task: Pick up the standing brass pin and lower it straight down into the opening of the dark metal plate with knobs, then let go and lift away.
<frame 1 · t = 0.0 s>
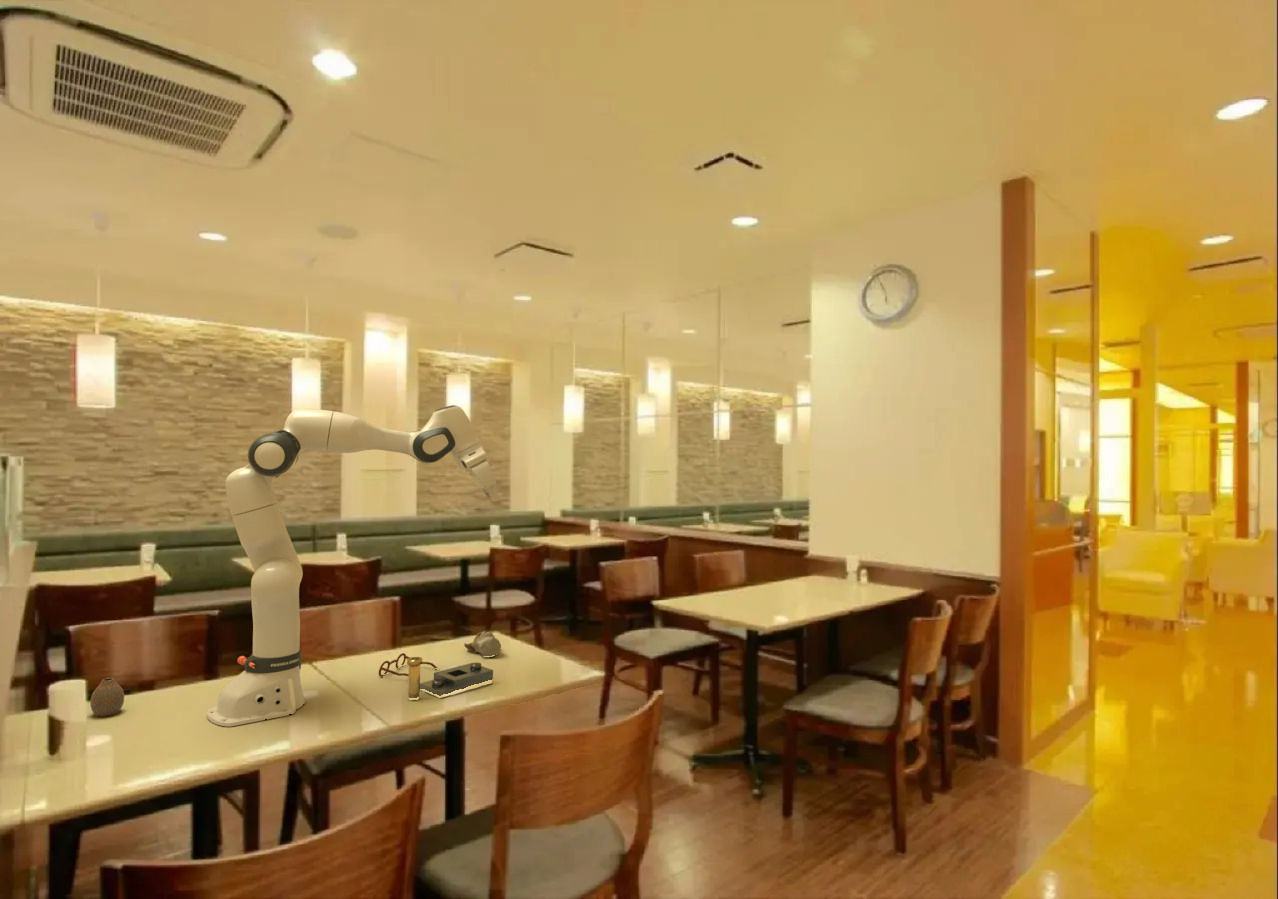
hand: (493, 499, 210), 54 cm above the table, fingers open, 8 cm apart
ceramic sculpture: (485, 654, 242), on the table
glasses: (409, 676, 219), on the table
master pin: (413, 699, 198), on the table
metal plate with knobs: (456, 687, 208), on the table
vase: (107, 714, 182), on the table
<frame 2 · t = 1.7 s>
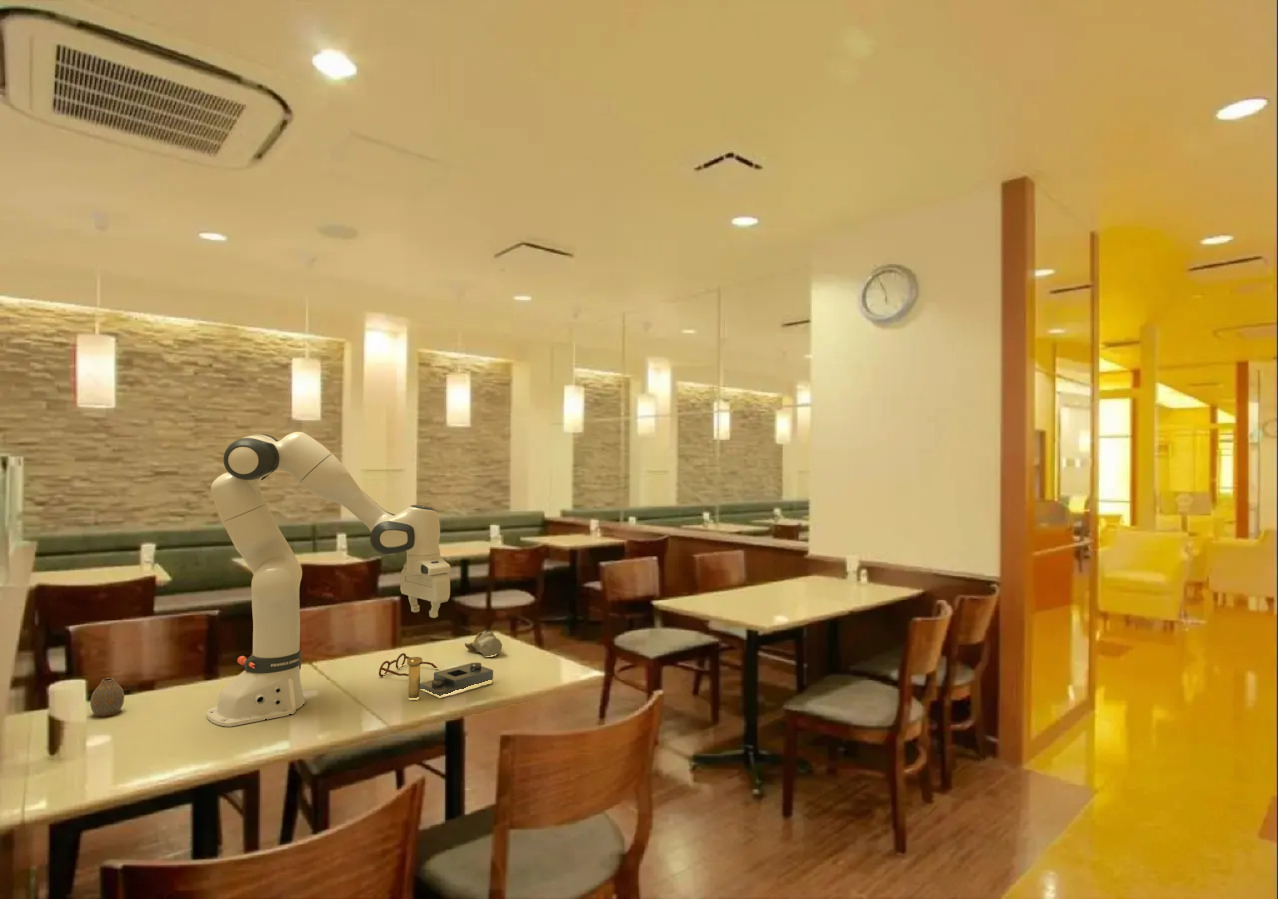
hand: (424, 614, 198), 23 cm above the table, fingers open, 8 cm apart
nothing on the table moved.
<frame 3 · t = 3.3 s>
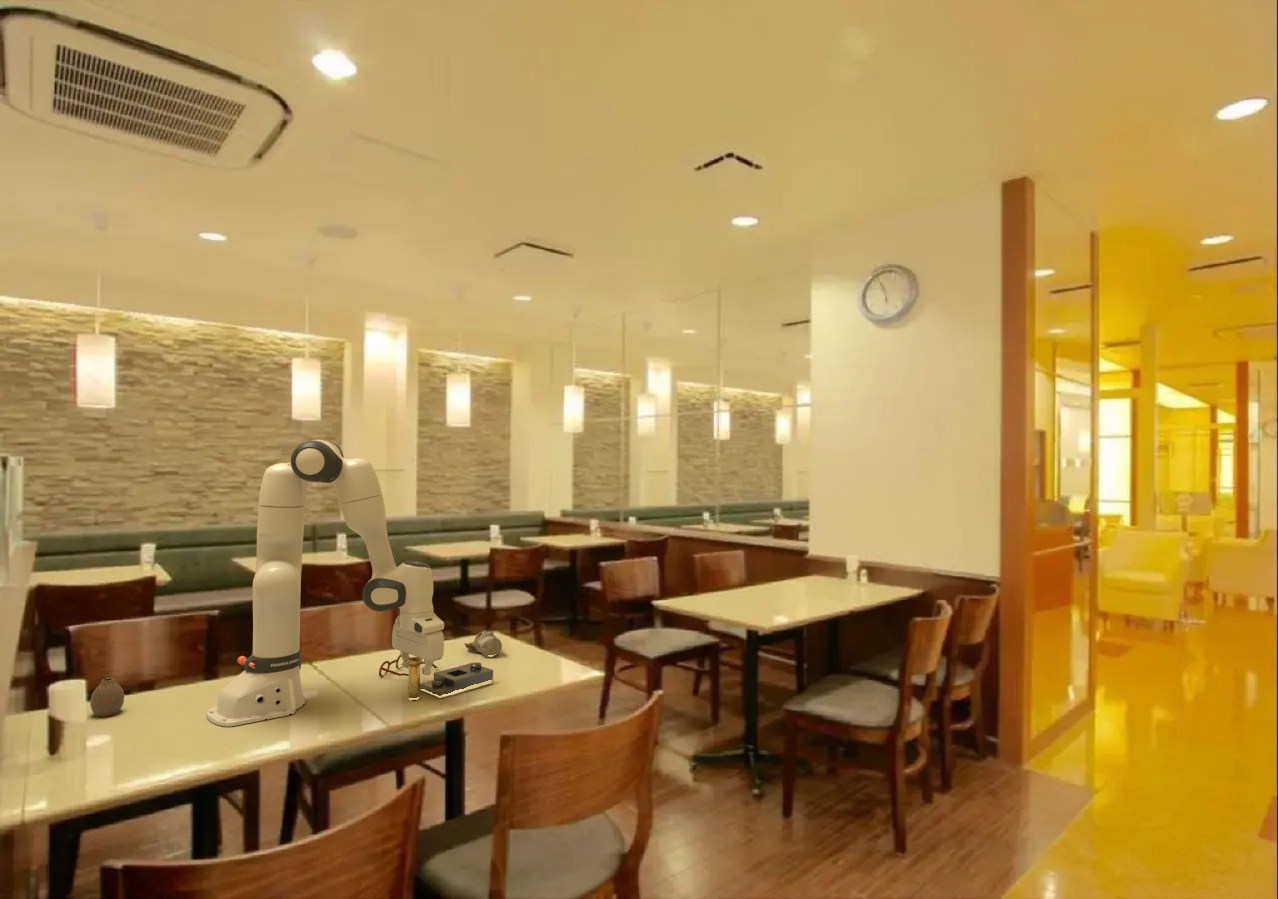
hand: (416, 670, 198), 8 cm above the table, fingers open, 8 cm apart
nothing on the table moved.
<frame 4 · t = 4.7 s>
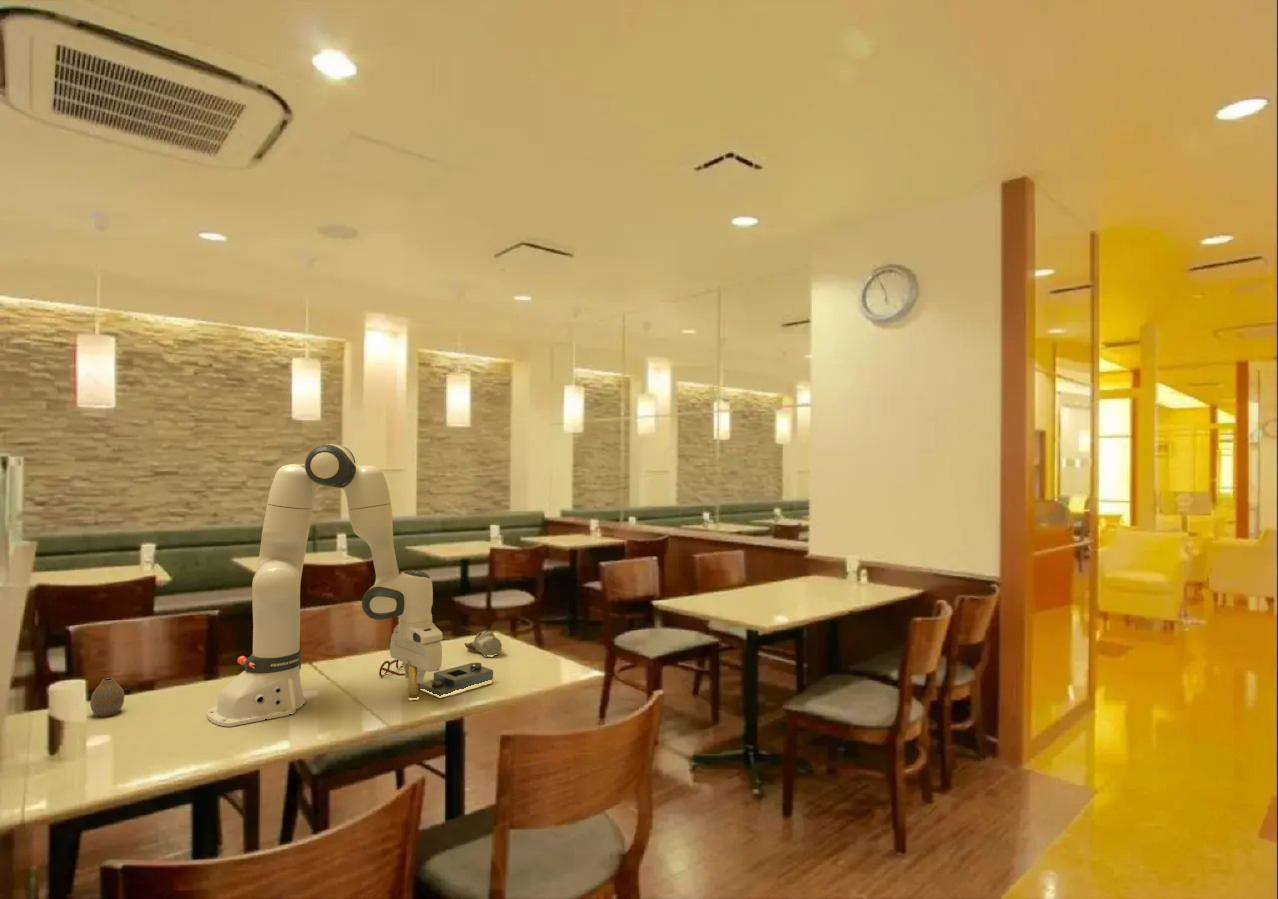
hand: (414, 680, 198), 5 cm above the table, fingers closed on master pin, 3 cm apart
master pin: (413, 699, 198), on the table, touching gripper
everything else where it was.
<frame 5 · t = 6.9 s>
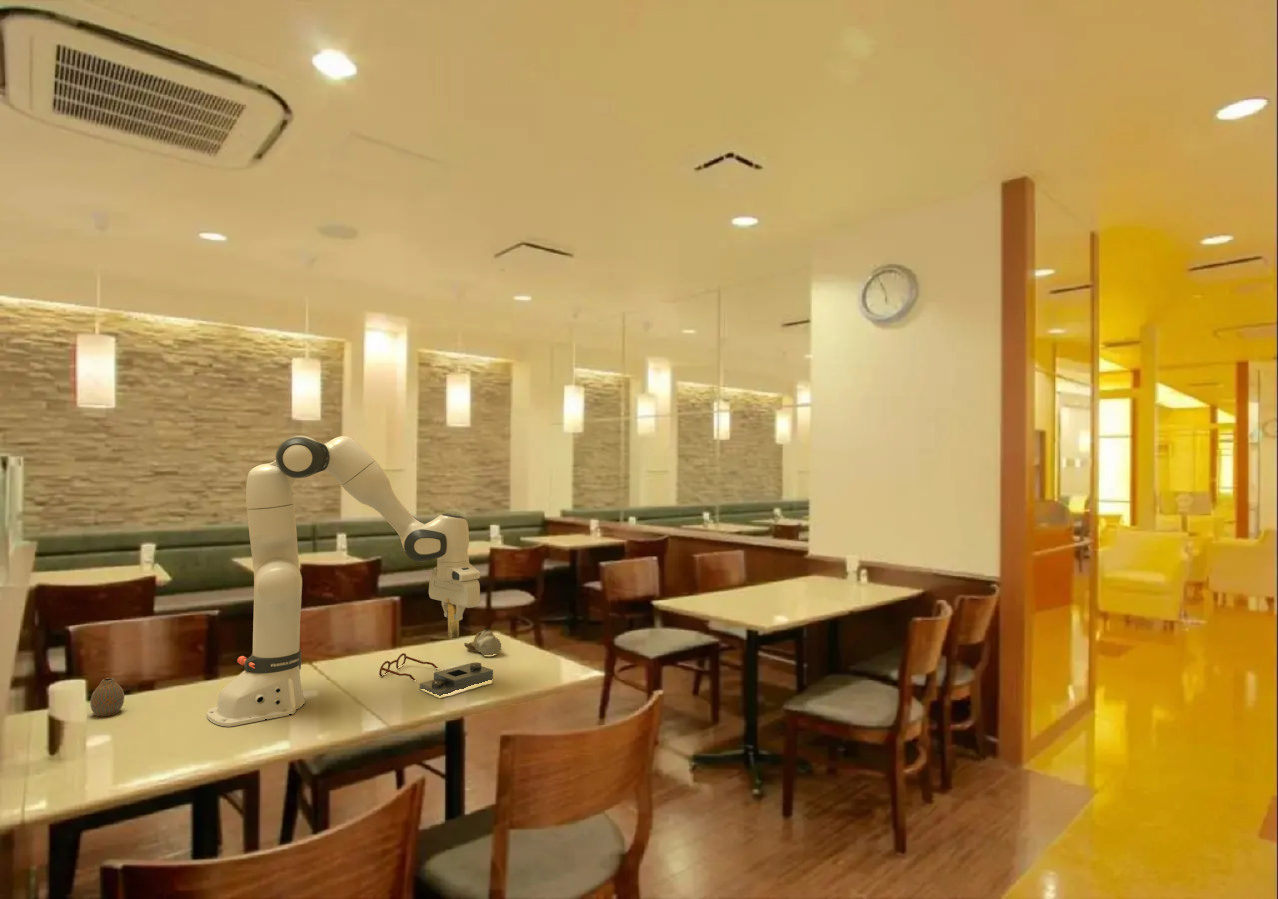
hand: (453, 618, 206), 20 cm above the table, fingers closed on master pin, 3 cm apart
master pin: (453, 636, 206), point 15 cm above the table, touching gripper
everything else where it was.
when the fingers open (6 cm above the table, at t = 9.5 s): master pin stays where it is, resting in metal plate with knobs.
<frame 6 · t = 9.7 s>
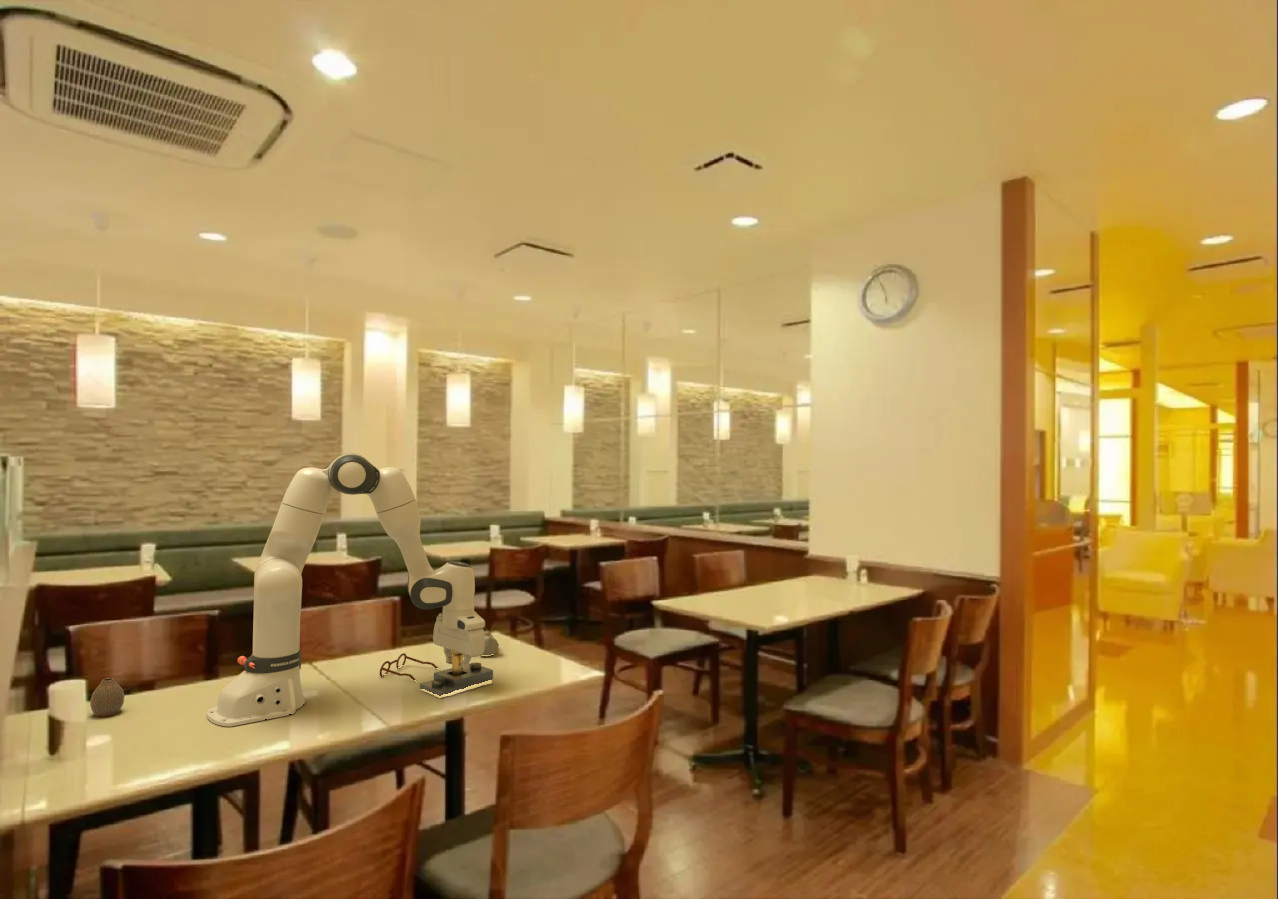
hand: (457, 665, 208), 6 cm above the table, fingers open, 6 cm apart
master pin: (456, 686, 208), resting in metal plate with knobs
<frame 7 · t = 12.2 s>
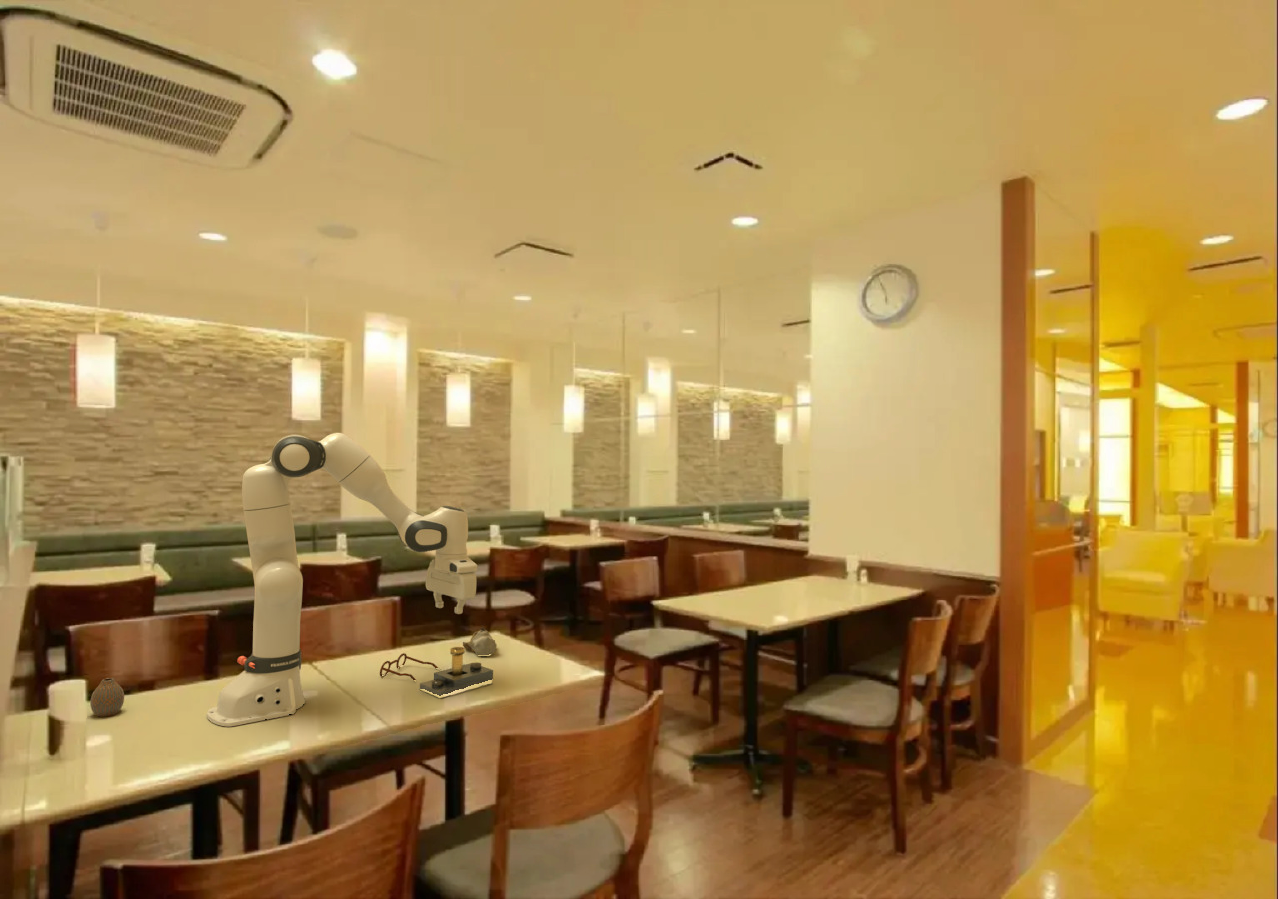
hand: (448, 610, 208), 22 cm above the table, fingers open, 8 cm apart
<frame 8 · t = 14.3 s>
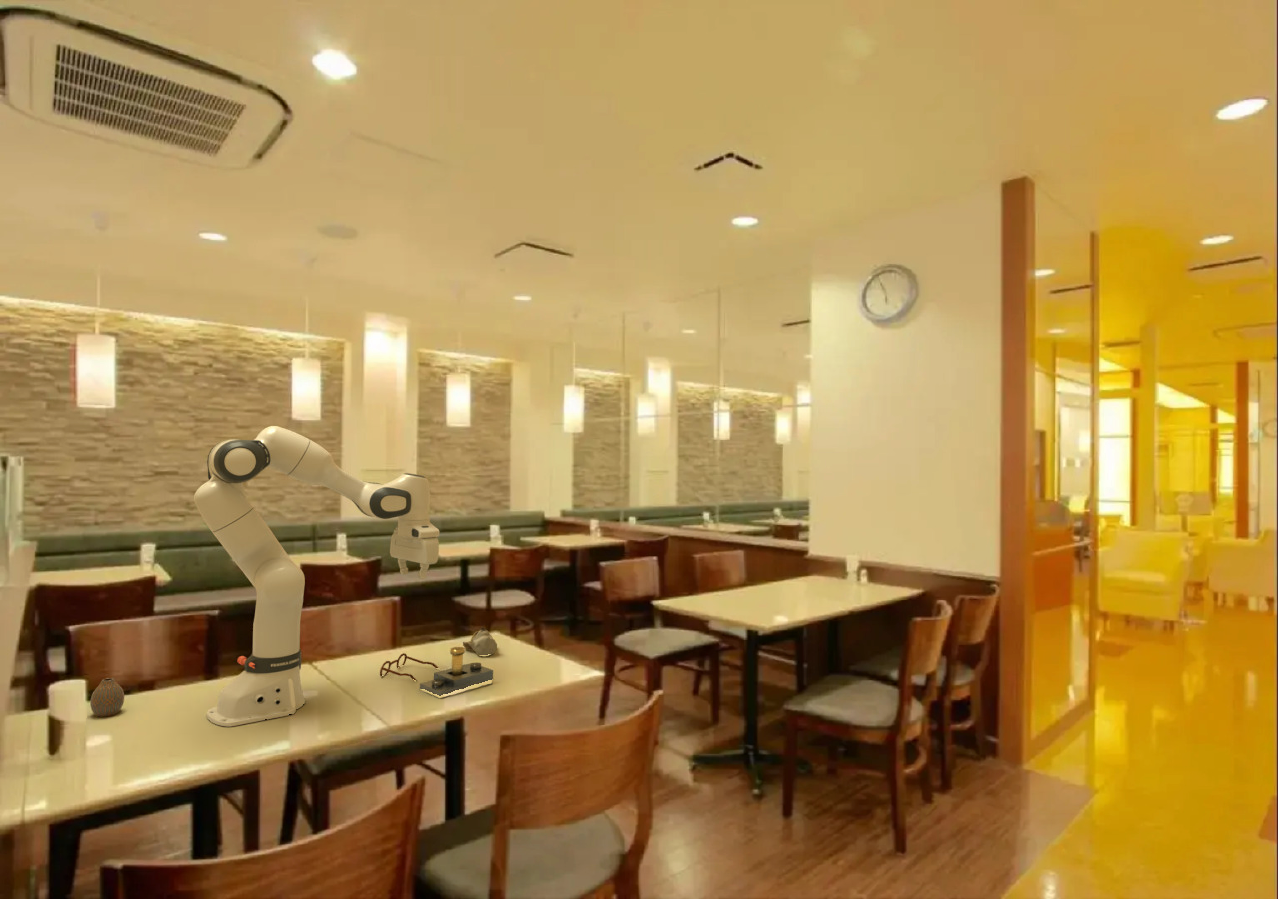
hand: (412, 576, 211), 31 cm above the table, fingers open, 8 cm apart
at the end: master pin 0.1 cm off-centre on the metal plate with knobs, point 0.0 cm above the metal plate with knobs's base; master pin tilted 0°; the gripper is holding nothing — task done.
